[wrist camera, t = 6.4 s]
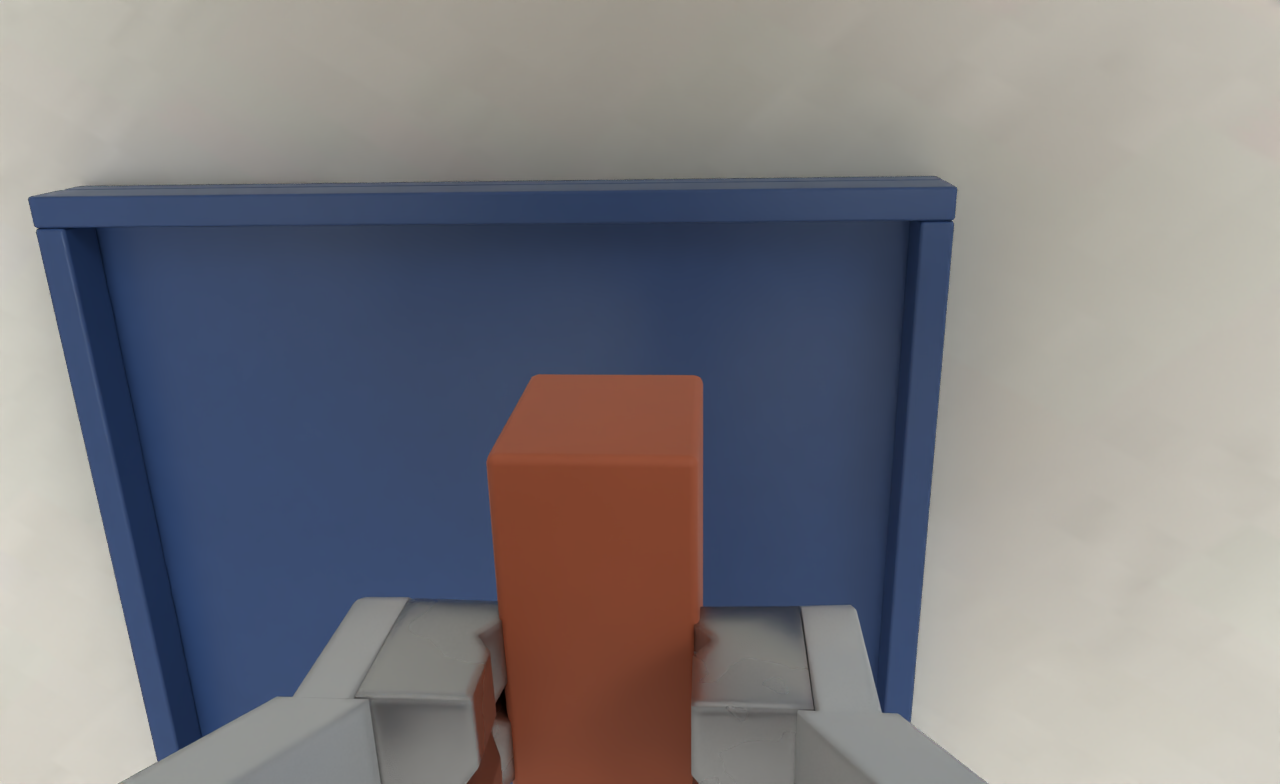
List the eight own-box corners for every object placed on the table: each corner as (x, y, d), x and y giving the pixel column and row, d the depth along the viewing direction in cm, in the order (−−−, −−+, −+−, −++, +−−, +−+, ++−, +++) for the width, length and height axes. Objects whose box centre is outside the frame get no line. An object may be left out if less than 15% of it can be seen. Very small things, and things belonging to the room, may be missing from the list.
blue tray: (79, 185, 20) (26, 197, 18) (938, 175, 18) (958, 187, 17) (218, 847, 25) (187, 897, 24) (882, 876, 24) (893, 932, 23)
